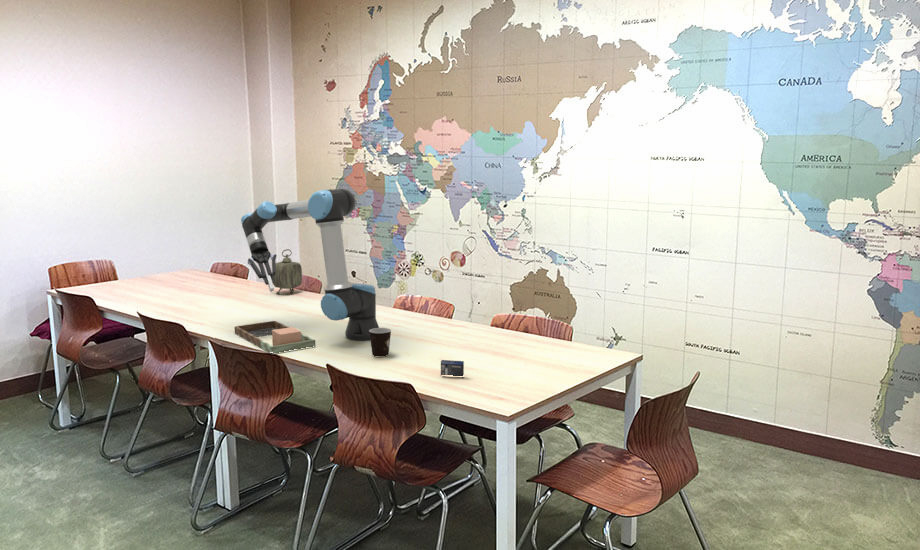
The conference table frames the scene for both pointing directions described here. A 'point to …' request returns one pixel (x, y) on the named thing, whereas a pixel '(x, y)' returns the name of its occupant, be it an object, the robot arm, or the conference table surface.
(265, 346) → the wooden tray
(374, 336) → the coffee mug
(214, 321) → the conference table surface
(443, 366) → the mini dv tape
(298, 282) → the tabletop clock
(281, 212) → the robot arm
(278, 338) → the terracotta block
